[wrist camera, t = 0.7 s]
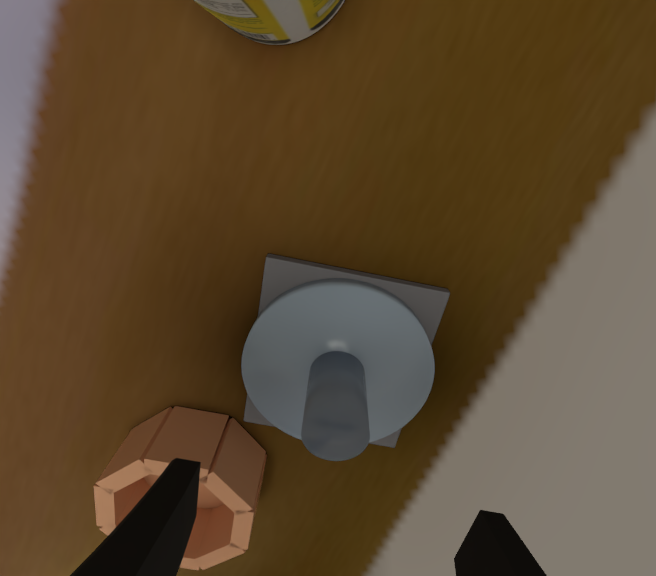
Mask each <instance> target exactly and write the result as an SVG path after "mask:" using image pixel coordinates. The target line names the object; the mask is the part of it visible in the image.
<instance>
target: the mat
mask: <svg viewBox="0 0 656 576" xmlns="http://www.w3.org/2000/svg"><path fill="white" fill-rule="evenodd" d="M329 278H346V279H353V280H359V281H363V282H367V283H371V284H373V285H376V286H378V287H381V288H383V289H385V290H387V291H389V292H390V293H392V294H394V295H395V296H397V297H398V298H399V299H401V300H402V301H403V302H404V303H406V304H407V305H408V306H409V307H410V308H411V309H412V310H413V312H414V313H415V314H416V316H417V317H418V318H419V320H420V322H421V323H422V325H423V327H424V329H425V332H426V334H427V337H428V340H429V342H430V345H432V342H433V340H434V337H435V334H436V331H437V329H438V326H439V323H440V320H441V317H442V315H443V312H444V309H445V306H446V304H447V301H448V298H449V295H450V292H449V290H448V289H446V288H441V287H436V286H431V285H426V284H421V283H416V282H410V281H405V280H400V279H395V278H390V277H385V276H380V275H375V274H370V273H365V272H360V271H355V270H350V269H344V268H339V267H334V266H329V265H324V264H319V263H314V262H309V261H304V260H299V259H294V258H289V257H284V256H278V255H273V254H267V256H266V261H265V268H264V276H263V283H262V290H261V297H260V305H259V312H258V316H259V314H260V313H261V312H262V311H263V309H264V308H265V307H266V306H267V305H268V304H269V303H270V302H271V301H272V300H274V299H275V298H276V297H278V296H279V295H281V294H282V293H284V292H285V291H287V290H289V289H291V288H293V287H295V286H298V285H301V284H303V283H306V282H311V281H315V280H320V279H329ZM244 421H245V422H251V423H257V424H262V425H268V426H274V425H273V424H272V423H270V422H269V421H268V420H267V419H266V418H265V417H264V416H263V415H262V414H261V413H260V412H259V411H258V409H257V408H256V407H255V406H254V404H253V402H252V401H251V399H250V397H249V395H248V393H247V399H246V406H245V414H244ZM274 427H276V426H274ZM400 431H401V428H400V429H399V430H397V431H396V432H394V433H392V434H390V435H388V436H386V437H384V438H381V439H379V440H376V441H373V442H369V443H370V444H376V445H381V446H387V447H393V448H395V445H396V442H397V439H398V437H399V434H400Z"/></svg>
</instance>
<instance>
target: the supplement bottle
mask: <svg viewBox="0 0 656 576" xmlns="http://www.w3.org/2000/svg"><path fill="white" fill-rule="evenodd" d="M193 1H195V2H196V3H197V4H199V5H200V6H201V7H203V8H204V9H205V10H207V11H208V12H209V13H211V14H212V15H214V16H215V17H216V18H218V19H219V20H221V21H222V22H223V23H224V24H226V25H227V26H228V27H229V28H231V29H232V30H234V31H236V32H237V33H239V34H241V35H242V36H244V37H246V38H248V39H251V40H253V41H256V42H260V43H264V44H271V45H283V44H290V43H294V42H297V41H300V40H303V39H305V38H307V37H309V36H311V35H313V34H314V33H315V32H317V31H318V30H320V29H321V28H322V27H323V26H324V25H326V24H327V23H328V22H329V21H330V20H331V19H332V18H333V16H334V15H335V14H336V13H337V12H338V10H339V9H340V7H341V6H342V4H343V3H344V1H345V0H193Z"/></svg>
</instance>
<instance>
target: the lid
mask: <svg viewBox="0 0 656 576" xmlns="http://www.w3.org/2000/svg"><path fill="white" fill-rule="evenodd" d="M241 369H242V378H243V381H244V385H245V388H246V391H247V393H248V395H249V397H250V399H251V401H252V402H253V404H254V406H255V407H256V408H257V409H258V411H259V412H260V413H261V414H262V415H263V416H264V417H265V418H266V419H267V420H268V421H269V422H270V423H272V424H273V425H274V426H276V427H277V428H278V429H280V430H282V431H283V432H285V433H287V434H289V435H291V436H293V437H295V438H298V439H300V440H302V441H303V444H304V445H305V447H306V448H307V449H308V450H309V451H310V452H311V453H312V454H314V455H315V456H317V457H319V458H322V459H325V460H330V461H343V460H348V459H351V458H354V457H356V456H357V455H359V454H360V453H362V452H363V451H364V450H365V448H366V447H367V445H368V443H369V442H373V441H376V440H379V439H381V438H384V437H386V436H388V435H390V434H392V433H394V432H396V431H397V430H399V429H400V428H402V427H403V426H405V425H406V424H407V423H408V422H409V421H410V420H411V419H413V418H414V416H415V415H416V414H417V413H418V412H419V411H420V409H421V408H422V406H423V405H424V403H425V402H426V400H427V398H428V396H429V394H430V391H431V388H432V384H433V380H434V373H435V365H434V356H433V351H432V348H431V345H430V342H429V340H428V337H427V334H426V332H425V329H424V327H423V325H422V323H421V322H420V320H419V318H418V317H417V316H416V314H415V313H414V312H413V310H412V309H411V308H410V307H409V306H408V305H407V304H406V303H404V302H403V301H402V300H401V299H399V298H398V297H397V296H395V295H394V294H392V293H390V292H389V291H387V290H385V289H383V288H381V287H378V286H376V285H373V284H371V283H367V282H363V281H359V280H353V279H346V278H329V279H320V280H315V281H311V282H306V283H303V284H301V285H298V286H295V287H293V288H291V289H289V290H287V291H285V292H284V293H282V294H281V295H279V296H278V297H276V298H275V299H274V300H272V301H271V302H270V303H269V304H268V305H267V306H266V307H265V308H264V309H263V311H262V312H261V313H260V314H259V316H258V317H257V319H256V320H255V322H254V324H253V326H252V328H251V330H250V332H249V335H248V337H247V340H246V342H245V345H244V349H243V353H242V363H241Z"/></svg>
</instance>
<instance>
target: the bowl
mask: <svg viewBox="0 0 656 576" xmlns="http://www.w3.org/2000/svg"><path fill="white" fill-rule="evenodd" d="M228 419H229V415H224V414H218V413H213V412H207V411H201V410H196V409H190V408H184V407H179V406H174V408H172V407H171V406H170V407H169V408H167V409H165V410H163V411H162V412H160V413H158V414H156V415H155V416H153V417H151V418H150V419H148V420H146V421H144V422H143V423H141V424H139V425H137V426H136V427H134V428H132V430H131V431H130V433H129V434H128V436H127V437H126V439H125V440H124V442H123V443H122V445H121V446H120V447H119V449H118V450H117V452H116V453H115V455H114V456H113V458H112V459H111V461H110V462H109V464H108V465H107V467H106V468H105V470H104V471H103V473H102V474H101V476H100V477H99V479H98V480H97V482H96V483H95V485H94V496H95V509H96V522H97V526H100V528H99V529H100V530H101V531H102V532H104V533H105V534H106V535H109V534H110V533H111V532H112V531H113V530H114V529H115V528H116V527H117V526H118V524H119V523H120V522H121V521H122V520H123V519H124V518H125V517H126V516H127V515H128V513H129V512H130V511H131V510H132V509H133V508H134V507H135V505H136V504H137V503H138V502H139V501H140V499H141V498H142V497H143V496H144V495H145V494H146V492H147V491H148V490H149V489H150V488H151V486H152V485H153V484H154V483H155V481H156V480H157V479H158V478H159V476H160V475H161V474H162V473H163V471H164V470H165V469H166V467H167V466H168V465H169V463H170V462H171V461H172V460H173V459H175V458H180V459H186V460H192V461H198V462H201V465H200V478H199V490H198V502H197V514H196V519H195V522H194V525H193V528H192V531H191V534H190V538H189V541H188V544H187V547H186V550H185V553H184V556H183V559H182V562H181V565H180V568H186V569H193V570H199V568H201V569H202V570H204V569H207V568H209V567H212V566H214V565H216V564H219V563H221V562H224V561H226V560H228V559H231V558H233V557H236V556H238V555H240V554H243V553H245V551H246V550H248V546H249V541H250V537H251V532H252V528H253V523H254V519H255V514H256V510H257V505H258V500H259V496H260V491H261V486H262V481H263V475H264V469H265V464H266V458H267V455H265V454H266V451H265V450H264V449H263V448H262V447H261V446H260V445H259V444H258V443H257V442H256V441H255V440H254V439H253V438H252V437H251V436H250V435H249V433H248V432H247V431H246V430H245V429H244V428H243V427H242V426H241V425H240V424H239V423H238V422H237V421H236V420H235V419H234V418H231V419H229V420H228Z"/></svg>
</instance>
